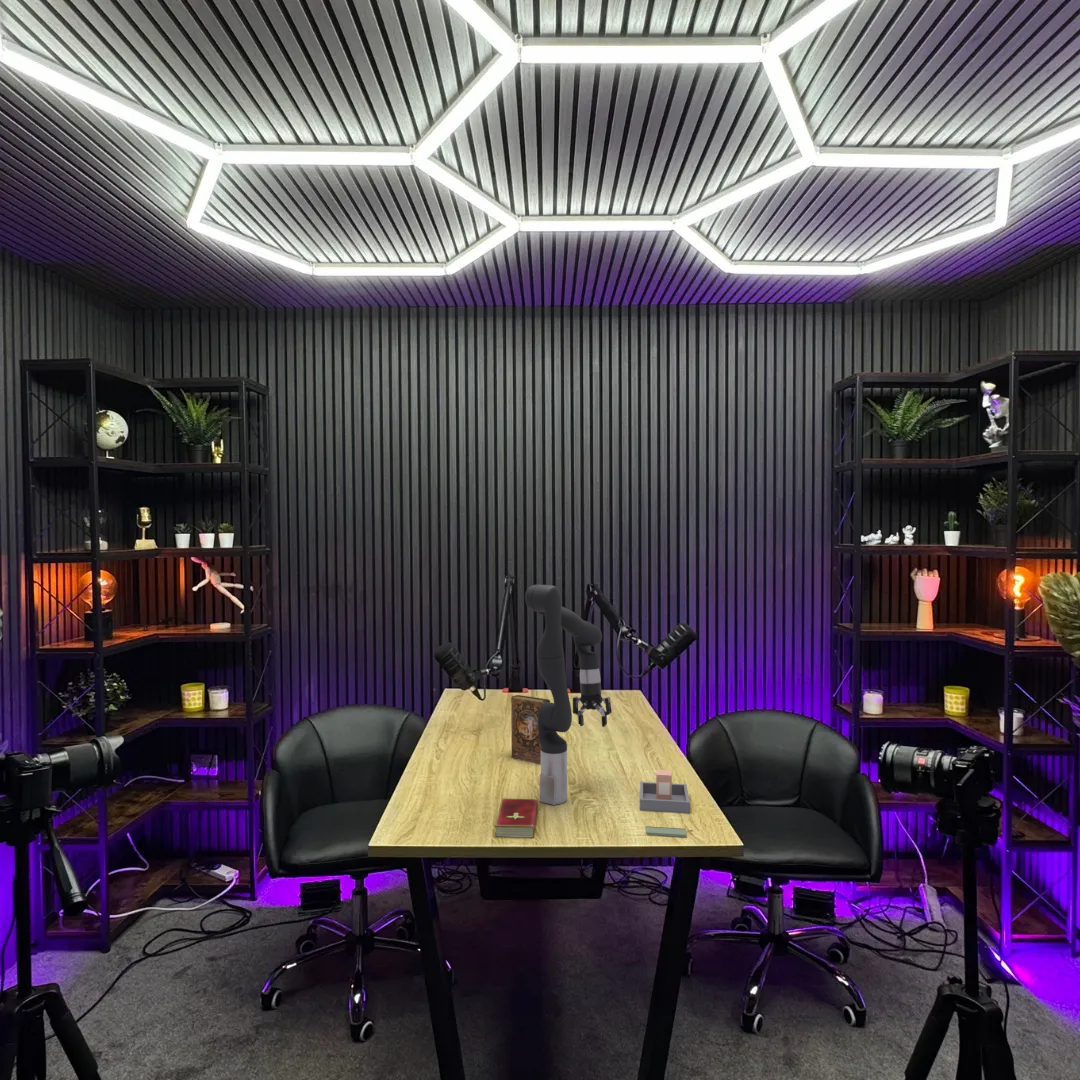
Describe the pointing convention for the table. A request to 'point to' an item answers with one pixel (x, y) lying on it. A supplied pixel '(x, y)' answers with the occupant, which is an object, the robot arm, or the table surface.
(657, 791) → the labelled box
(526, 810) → the hardcover book
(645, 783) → the parts bin
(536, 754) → the book
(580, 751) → the table surface
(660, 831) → the grey-green flat plate
